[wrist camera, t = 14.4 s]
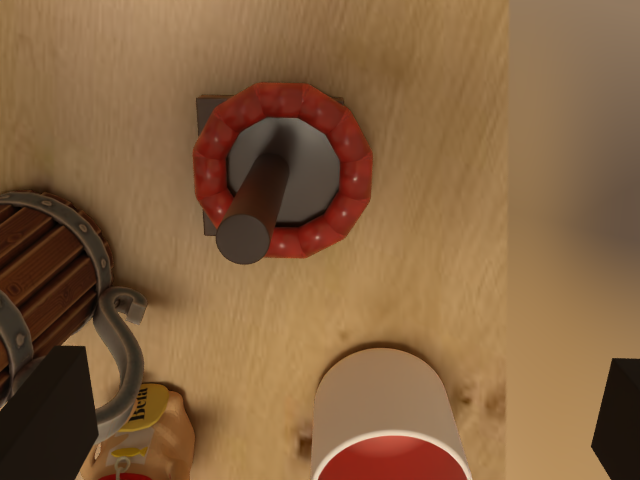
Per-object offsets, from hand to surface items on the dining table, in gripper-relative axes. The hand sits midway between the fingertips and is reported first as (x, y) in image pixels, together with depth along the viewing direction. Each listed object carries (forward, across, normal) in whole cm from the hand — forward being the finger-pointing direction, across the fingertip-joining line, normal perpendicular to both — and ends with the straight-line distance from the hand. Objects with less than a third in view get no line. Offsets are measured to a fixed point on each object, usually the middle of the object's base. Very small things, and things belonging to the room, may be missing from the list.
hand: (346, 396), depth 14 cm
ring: (+22, -3, 0) cm, 22 cm away
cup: (+25, +4, -18) cm, 31 cm away
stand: (+25, -4, 0) cm, 25 cm away
